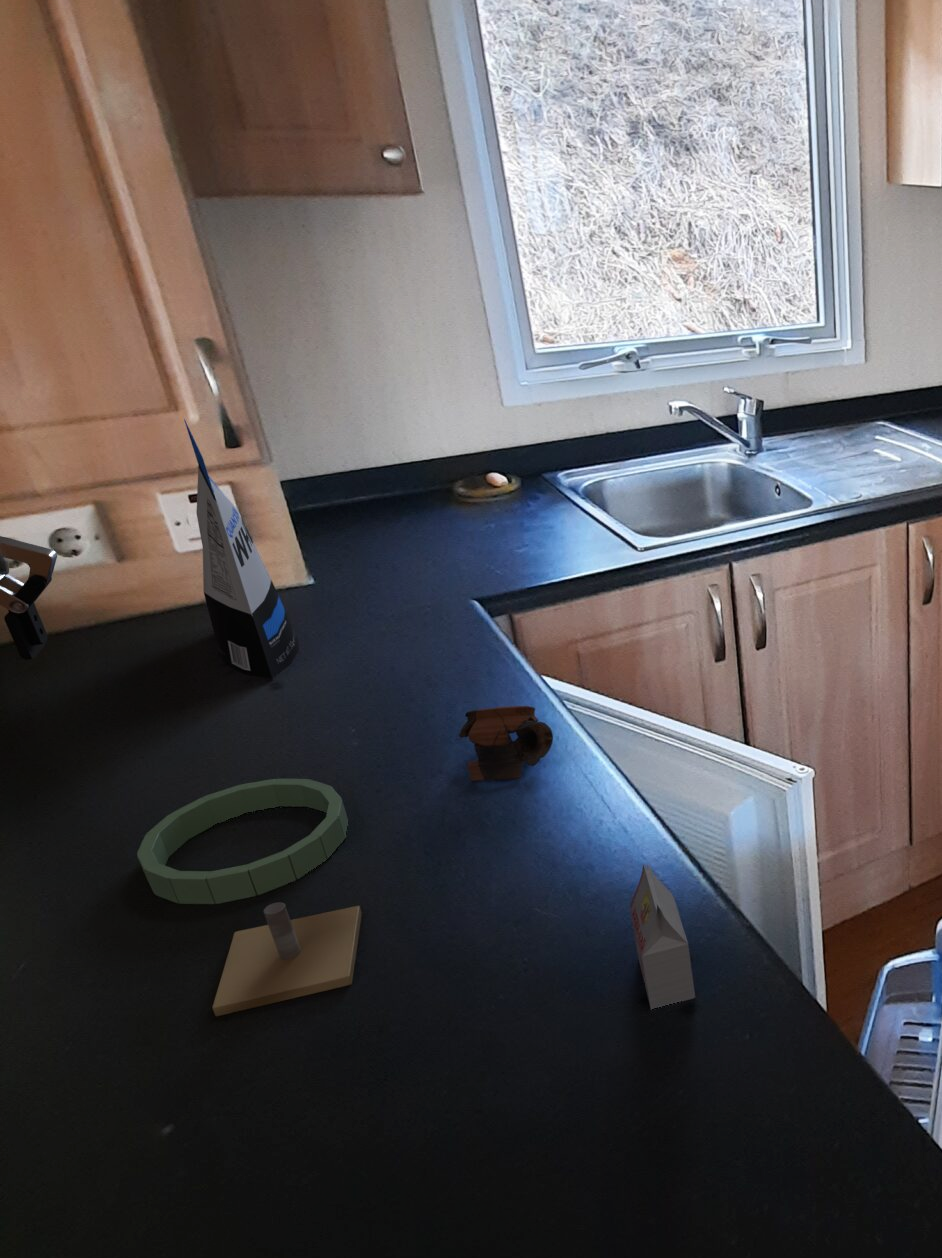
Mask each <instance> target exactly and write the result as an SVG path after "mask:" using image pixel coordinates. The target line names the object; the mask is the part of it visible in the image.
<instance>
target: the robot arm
mask: <svg viewBox="0 0 942 1258" xmlns="http://www.w3.org/2000/svg"><path fill="white" fill-rule="evenodd" d="M57 559H58V553H57V552H56V551H55V550H54V549H51V548H50V547H49V548H48V547H44V546H40V545H37V544H33V543H30V542H26V541H21V540H18V539H15V538H14V539H13V538H10V537H6V536H2V535H0V606H1V607H2V608H4V609H6V610H7V611H8V612H7V613H6V614H5V615H4V618H3V619H4V622H5V625H6V626H7V629H8V632H9V634H10V636H11V638H12V641H13V643H14V646H15V647H16V650H17V652H18V654H19V656H20V658H21V659H24V660H25V661H27V660H34V659H35V658H36V657H37V656H38V654H39V653H40V652H42V650H43V648H44V647H45V645H46V643H47V642H48V633H47V631H46V627H45V626H44V623H43V621H42V617H41V616H40V614H39V613H40V612H39V611H38V609H37V606H36V604H35V602H36V601H37V600H38V598H39V597H40V596H41V595H42V594H43V593H44V591H45V589H46V588H47V587H48V586H49V585H50V583H51V582H52V581H53V580H52V579H53V577H52V576H53V573H54V571H55V566H56V562H57ZM8 560H11V561H16V562H20V563H23V564H26V565H27V566H28V567H29V573H28V577H27V580H26V581H25V582H22V581H21V580H19V579H17V578H16V577H14V576H12V575H10V574H9V573H10V566H9V562H8Z"/></svg>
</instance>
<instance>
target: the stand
mask: <svg viewBox="0 0 942 1258" xmlns="http://www.w3.org/2000/svg"><path fill="white" fill-rule="evenodd" d="M263 914H264V917H265V920H266V922H267V924H265V925H261V926H257V927H251V928H247V929H242V930H238V931H234V933H233V936H232V940H231V942H230V946H229V950H228V953H227V956H226V960H225V963H224V966H223V969H222V973H221V977H220V981H219V984H218V987H217V990H216V994H215V997H214V1001H213V1004H212V1008H211V1009H212V1011H213V1014H214V1016H215V1017H220V1016H225V1015H228V1014H232V1013H236V1012H241V1011H246V1010H250V1009H253V1008H258V1007H262V1006H268V1005H272V1004H276V1003H280V1002H284V1001H288V1000H293V999H297V998H301V997H305V996H309V995H313V994H317V993H322V992H326V991H331V990H335V989H338V988H345V987H347V986H351V985H352V984H353V981H354V980H353V979H354V973H355V972H354V971H355V965H356V959H357V950H358V945H359V944H358V943H359V936H360V930H361V923H362V915H363V913H362V909H361V906H360V905H355V906H350V907H346V908H341V909H336V910H331V911H326V912H322V913H318V914H313V915H308V916H303V917H298V918H294V919H291V918H290V915H289V912H288V909H287V906H286V904H285V903H284V902H280V901H279V902H277V901H276V902H273V903H270V904H268V905H267V906H266V907H264V909H263Z"/></svg>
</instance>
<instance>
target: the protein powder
mask: <svg viewBox="0 0 942 1258" xmlns="http://www.w3.org/2000/svg"><path fill="white" fill-rule="evenodd" d="M183 420H184V424H185V427H186V430H187V433H188V436H189V440H190V443H191V446H192V449H193V452H194V455H195V458H196V459H195V460H196V462H197V465H198V466H197V486H196V487H197V490H196V492H197V493H196V519H197V523H198V529H199V535H200V540H201V545H202V546H201V547H202V578H203V579H202V581H203V583H202V584H203V586H202V587H203V588H202V589H203V595H204V599H205V603H206V606H207V611H208V614H209V618H210V622H211V626H212V630H213V634H214V638H215V643H216V646H217V650H218V655H219V658H220V659H221V660H222V661H223V663H224V664H225V666H227V667H228V668H230V669H233V670H234V671H237V672H239V673H241V674H244V675H247V676H255V677H262V678H269V679H271V681H274V677H275V676H277V675H278V674H279V673H281V672H283V670H285V669H286V668H288V667H289V666H290V665H291V664H292V663H293V661H294V659H295V658H296V655H297V654H298V652H299V650H300V645H299V639H298V636H297V634H296V632H295V630H294V628H293V625H292V623H291V621H290V619H289V616H288V614H287V611H286V609H285V607H284V605H283V603H282V600H281V598H280V596H279V594H278V591H277V589H276V586H275V585H274V582H273V580H272V578H271V576H270V574H269V571H268V570H267V568H266V565H265V563H264V561H263V559H262V557H261V555H260V552H259V551H258V548H257V547H256V545H255V543H254V540H253V538H252V536H251V533H250V532H249V529H248V528H247V525H246V523H245V522H244V520H243V517H242V516H241V513H240V511H239V510H238V509H237V507H236V506H235V505H234V503H233V502H232V501H231V500H230V499H229V497H228V496H227V495H226V494H225V493H224V492H223V491H222V490H221V489H220V487H219V486H218V485H217V484H216V483H215V481H214V480H213V479H212V478H211V477H210V476H209V473H208V470H207V467H206V463H205V460H204V457H203V455H202V453H201V451H200V448H199V447H198V444H197V442H196V440H195V438H194V436H193V433H192V432H191V429H190V427H189V425H188V424H187V421H186V419H185V418H183Z"/></svg>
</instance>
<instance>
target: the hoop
mask: <svg viewBox="0 0 942 1258" xmlns="http://www.w3.org/2000/svg"><path fill="white" fill-rule="evenodd" d="M278 806H286V807H287V806H293V807H294V806H300V807H301V806H307V807H310V808H315V809H318V810H320V811H324V812H326V813H327V814H325V818H323V820H322V821H321V822H320V823H319V824H318V825H317V826H316V827H315V828H314V830H313V831H312V832H310V833H309V835H307V836H306V837H304V838H302V839H301V840H298V841H297V842H295V843H294V844H291V846H289V847H287V848H285V849H284V850H282V851H279V852H277V853H274V854H271V855H269V856H266V857H263V858H260V859H258V860H256V861H253V862H250V863H247V864H242V865H237V866H232V867H226V868H221V869H215V870H211V871H209V870H208V871H203V870H202V871H201V870H198V871H197V870H178V869H175V868H173V867H170V866H167V865H166V864H167V862H168V860H169V858H170V857H171V856H172V855H173V854H174V853H176V851H177V850H179V849H180V848H181V847H182V846H183V845H184V844H186V842H188V841H189V840H190V839H192V838H194V837H196V836H197V835H199V834H201V833H204V832H205V831H206V830H208V829H211V828H212V827H214V826H216V825H218V824H217V823H219V824H221V822H222V823H225V822H227V821H229V820H228V819H230V818H233V819H235V818H234V817H236V818H239V817H241V816H240V815H242V814H244V813H247V812H252V813H256V812H255V811H256V810H263V811H265V810H264V809H267V808H275V807H278ZM275 809H276V808H275ZM253 811H254V812H253ZM247 814H248V813H247ZM238 816H239V817H238ZM242 816H243V815H242ZM226 820H227V821H226ZM230 820H231V819H230ZM348 821H349V818H348V814H347V811H346V809H345V805H344V802H343V798H342V797H341V796H340V795H339V793H337V791H336V790H335V789H334V788H333V787H332V786H331V785H330V784H326V783H323V782H319V781H317V780H313V779H311V778H308V779H307V778H273V779H272V778H271V779H266V780H260V781H254V782H247V783H241V784H238V785H237V784H236V785H235V786H231V787H228V788H226V789H222V790H219V791H217V792H213V793H210V794H207V795H204V796H202V797H200V798H198V799H195V800H194V801H191V802H190V803H188V804H186V805H184V806H182V807H180V808H179V809H176V810H175V811H172V812H171V813H169V814H167V815H166V816H165V817H164V818H163V819H162V820H160V821H159V822H157V824H156V825H154V826H153V827H152V828H151V829H149V831H148V832H146V834H145V835H144V837H143V839H142V841H141V843H140V845H139V847H138V849H137V852H136V857H137V859H138V861H139V863H140V864H139V865H140V866H141V868H142V871H143V874H144V876H145V878H146V881H147V882H148V884H149V887H150V888H151V890H152V892H153V895H155V896H158V897H159V898H162V899H165V900H168V901H170V902H173V903H175V904H177V905H179V904H180V905H219V904H224V903H228V902H235V901H239V900H243V899H249V898H253V897H257V896H260V895H263V894H265V893H268V892H270V891H271V892H272V891H273V890H276V889H278V888H281V887H283V886H286V885H288V883H289V884H291V883H294V882H297V880H299V879H301V878H303V877H304V876H306V875H307V874H309V873H310V872H312V871H313V869H314V868H315V869H316V867H317V866H318V865H320V864H321V865H323V864H322V862H325V861H326V860H327V859H328V858H329V857H330V856H331V855H332V853H333V852H334V851H335V850H336V848H337V847H338V846H339V845H340V843H342V842H343V840H344V839H345V838H346V839H347V835H346V831H347V832H348V830H347V826H348V827H349V824H348ZM215 824H216V825H215ZM213 825H214V826H213ZM178 848H179V849H178ZM332 856H333V855H332ZM332 856H331V857H332ZM327 861H328V860H327ZM327 861H326V862H327ZM326 862H325V863H326ZM321 865H320V866H321ZM318 867H319V866H318ZM318 867H317V868H318ZM315 869H314V870H315ZM311 870H312V871H311ZM309 871H310V872H309ZM308 872H309V873H308ZM305 874H306V875H305ZM290 882H291V883H290Z"/></svg>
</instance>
